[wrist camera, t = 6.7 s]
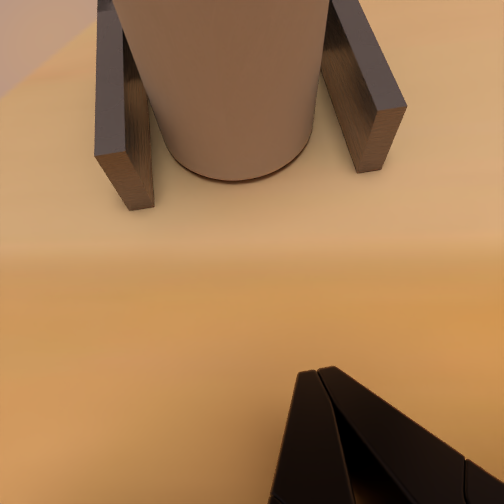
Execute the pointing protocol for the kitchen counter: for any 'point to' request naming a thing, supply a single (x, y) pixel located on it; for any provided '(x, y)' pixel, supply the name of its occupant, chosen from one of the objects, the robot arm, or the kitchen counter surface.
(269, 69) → the travel mug
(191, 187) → the kitchen counter surface
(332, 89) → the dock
